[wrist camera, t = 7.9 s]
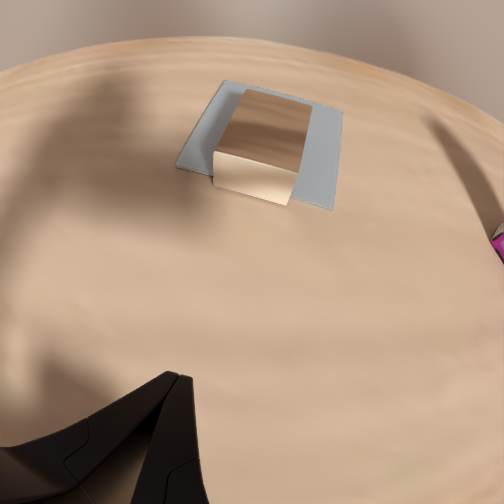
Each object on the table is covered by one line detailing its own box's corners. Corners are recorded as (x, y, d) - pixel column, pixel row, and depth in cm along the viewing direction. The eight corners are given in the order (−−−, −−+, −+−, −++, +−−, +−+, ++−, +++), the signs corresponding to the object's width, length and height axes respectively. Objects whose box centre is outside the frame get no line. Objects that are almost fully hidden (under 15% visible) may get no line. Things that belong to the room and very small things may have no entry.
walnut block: (297, 176, 23) (312, 105, 27) (213, 153, 23) (246, 88, 27) (286, 205, 27) (302, 135, 31) (213, 185, 27) (242, 119, 31)
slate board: (332, 210, 28) (333, 208, 27) (175, 167, 28) (174, 164, 27) (342, 113, 34) (343, 111, 34) (224, 82, 34) (224, 80, 34)
